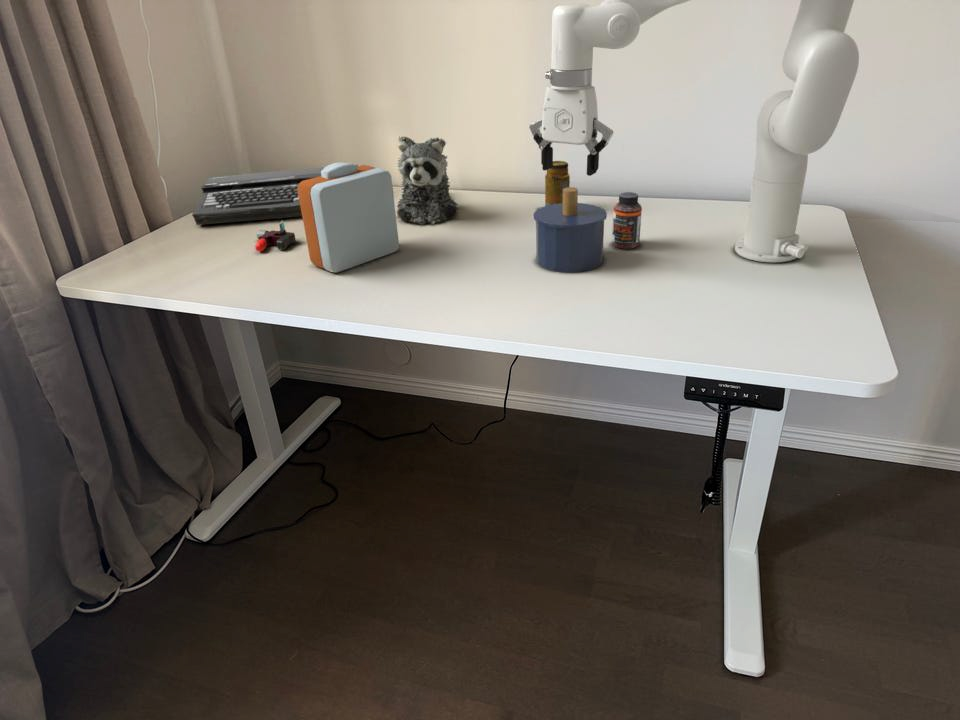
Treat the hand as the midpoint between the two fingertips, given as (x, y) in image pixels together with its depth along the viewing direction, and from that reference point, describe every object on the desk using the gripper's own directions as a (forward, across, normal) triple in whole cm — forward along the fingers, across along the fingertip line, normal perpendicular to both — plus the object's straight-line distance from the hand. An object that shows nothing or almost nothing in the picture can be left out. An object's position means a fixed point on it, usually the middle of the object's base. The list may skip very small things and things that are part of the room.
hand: (569, 171), depth 137 cm
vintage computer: (+20, -88, +3) cm, 91 cm away
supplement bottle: (+19, +8, +14) cm, 24 cm away
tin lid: (+9, 0, 0) cm, 9 cm away
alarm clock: (+19, -42, -19) cm, 50 cm away
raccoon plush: (+19, -49, +15) cm, 55 cm away
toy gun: (+20, -67, -22) cm, 73 cm away
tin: (+19, 0, 0) cm, 19 cm away
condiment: (+19, -17, +29) cm, 38 cm away
